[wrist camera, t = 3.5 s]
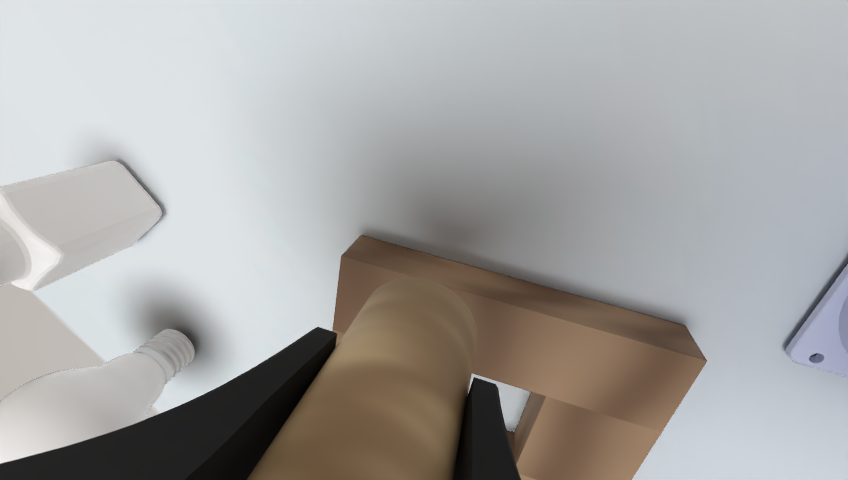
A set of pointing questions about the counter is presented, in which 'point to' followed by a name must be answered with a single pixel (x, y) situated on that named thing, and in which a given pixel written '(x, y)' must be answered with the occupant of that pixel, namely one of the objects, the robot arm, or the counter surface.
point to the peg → (384, 393)
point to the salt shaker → (70, 222)
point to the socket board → (551, 361)
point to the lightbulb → (89, 398)
